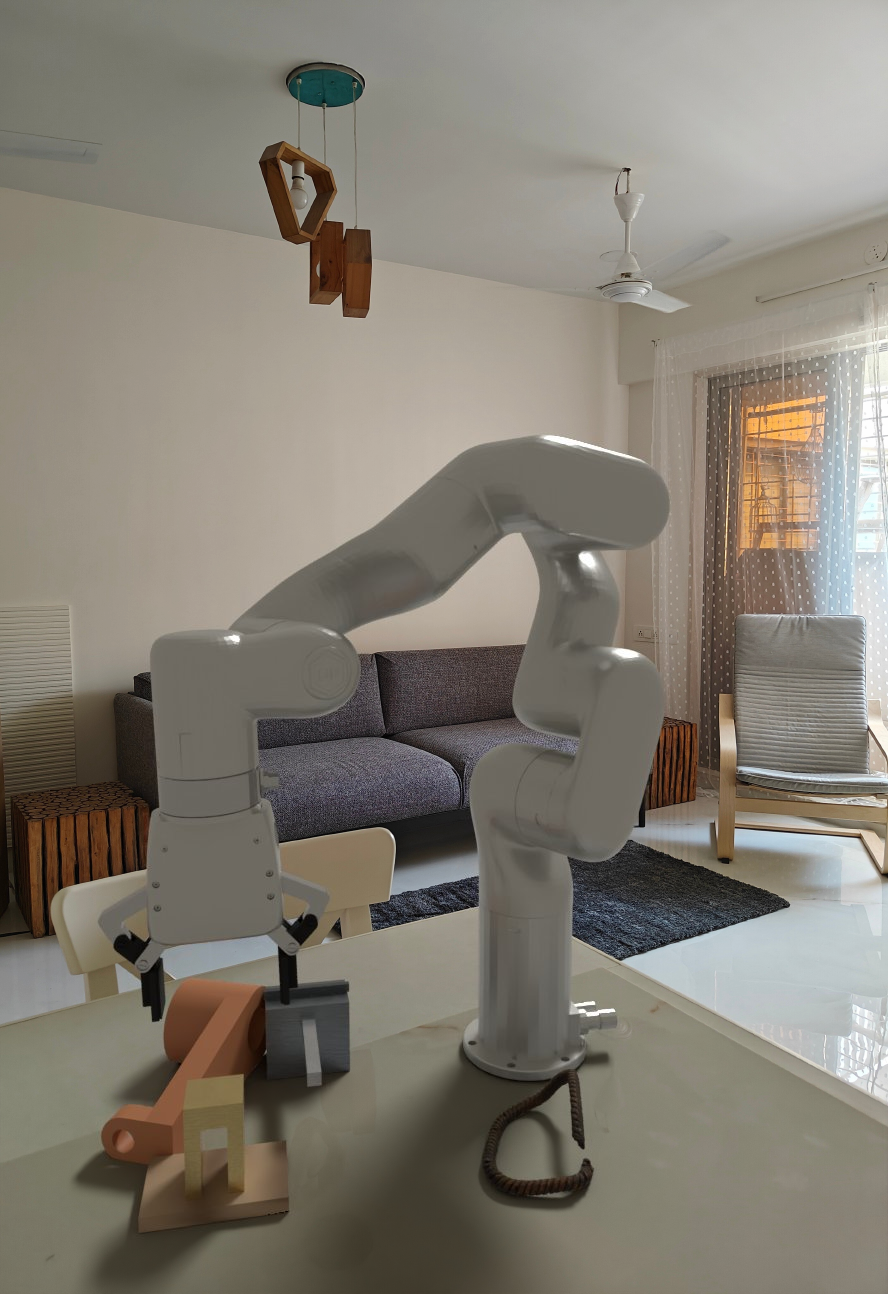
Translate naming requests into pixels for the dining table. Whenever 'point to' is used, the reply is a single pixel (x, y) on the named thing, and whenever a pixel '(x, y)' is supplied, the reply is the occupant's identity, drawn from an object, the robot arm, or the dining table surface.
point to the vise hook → (308, 1031)
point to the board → (214, 1189)
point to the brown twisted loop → (577, 1133)
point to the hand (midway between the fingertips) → (222, 1004)
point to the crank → (192, 1062)
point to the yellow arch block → (212, 1109)
